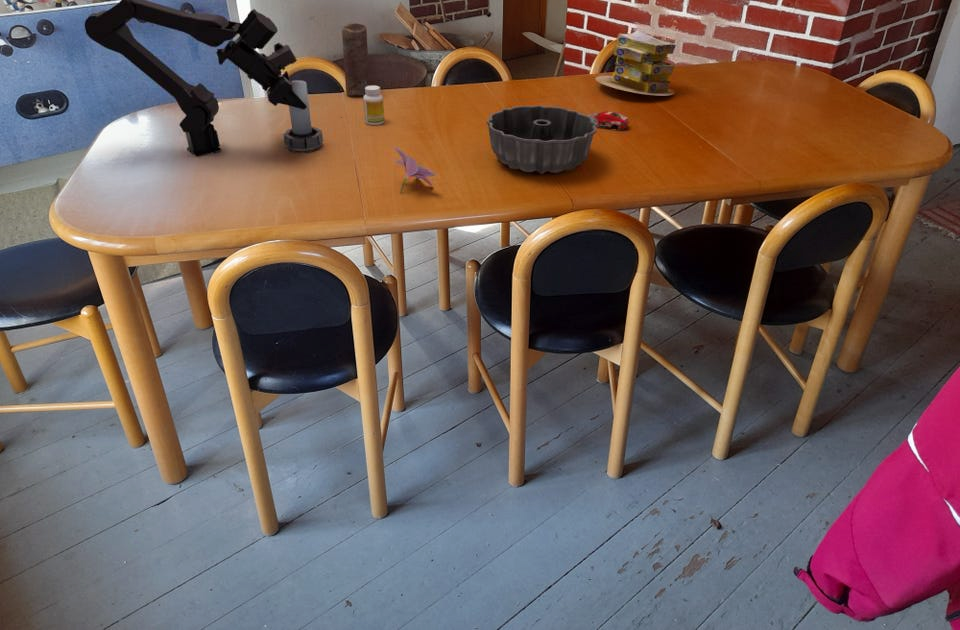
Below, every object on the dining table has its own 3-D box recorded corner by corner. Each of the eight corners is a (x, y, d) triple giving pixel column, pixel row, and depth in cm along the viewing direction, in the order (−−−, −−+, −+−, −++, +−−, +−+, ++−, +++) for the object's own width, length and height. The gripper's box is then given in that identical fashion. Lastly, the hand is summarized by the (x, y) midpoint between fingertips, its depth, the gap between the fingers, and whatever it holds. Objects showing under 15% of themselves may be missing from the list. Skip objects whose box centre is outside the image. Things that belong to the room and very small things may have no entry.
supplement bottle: (361, 121, 194) (358, 86, 188) (377, 117, 197) (375, 83, 191) (371, 126, 190) (369, 91, 185) (388, 122, 193) (386, 88, 188)
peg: (298, 136, 173) (291, 87, 166) (289, 130, 176) (282, 82, 169) (315, 131, 176) (309, 83, 169) (306, 126, 179) (300, 79, 172)
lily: (437, 204, 153) (449, 161, 152) (387, 190, 148) (399, 145, 147) (421, 199, 164) (433, 159, 162) (374, 185, 159) (385, 144, 158)
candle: (373, 91, 217) (368, 23, 205) (368, 99, 211) (362, 29, 199) (349, 90, 217) (343, 22, 206) (343, 97, 211) (336, 28, 200)
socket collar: (297, 155, 173) (295, 141, 171) (280, 145, 178) (278, 131, 176) (329, 147, 178) (327, 133, 176) (311, 137, 183) (309, 124, 181)
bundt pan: (563, 137, 186) (566, 99, 180) (613, 173, 166) (618, 132, 160) (470, 149, 178) (471, 110, 172) (511, 189, 158) (513, 147, 152)
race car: (577, 126, 193) (578, 112, 191) (583, 120, 198) (584, 106, 195) (624, 133, 189) (626, 118, 187) (629, 127, 193) (631, 112, 191)
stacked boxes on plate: (638, 76, 234) (646, 23, 225) (690, 96, 216) (701, 40, 207) (579, 86, 224) (584, 31, 215) (628, 108, 206) (636, 49, 197)
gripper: (275, 44, 154) (330, 90, 164) (268, 26, 169) (319, 69, 178) (244, 83, 157) (301, 126, 166) (240, 61, 171) (292, 102, 180)
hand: (304, 104), depth 172 cm, fingers closed on peg, 5 cm apart
